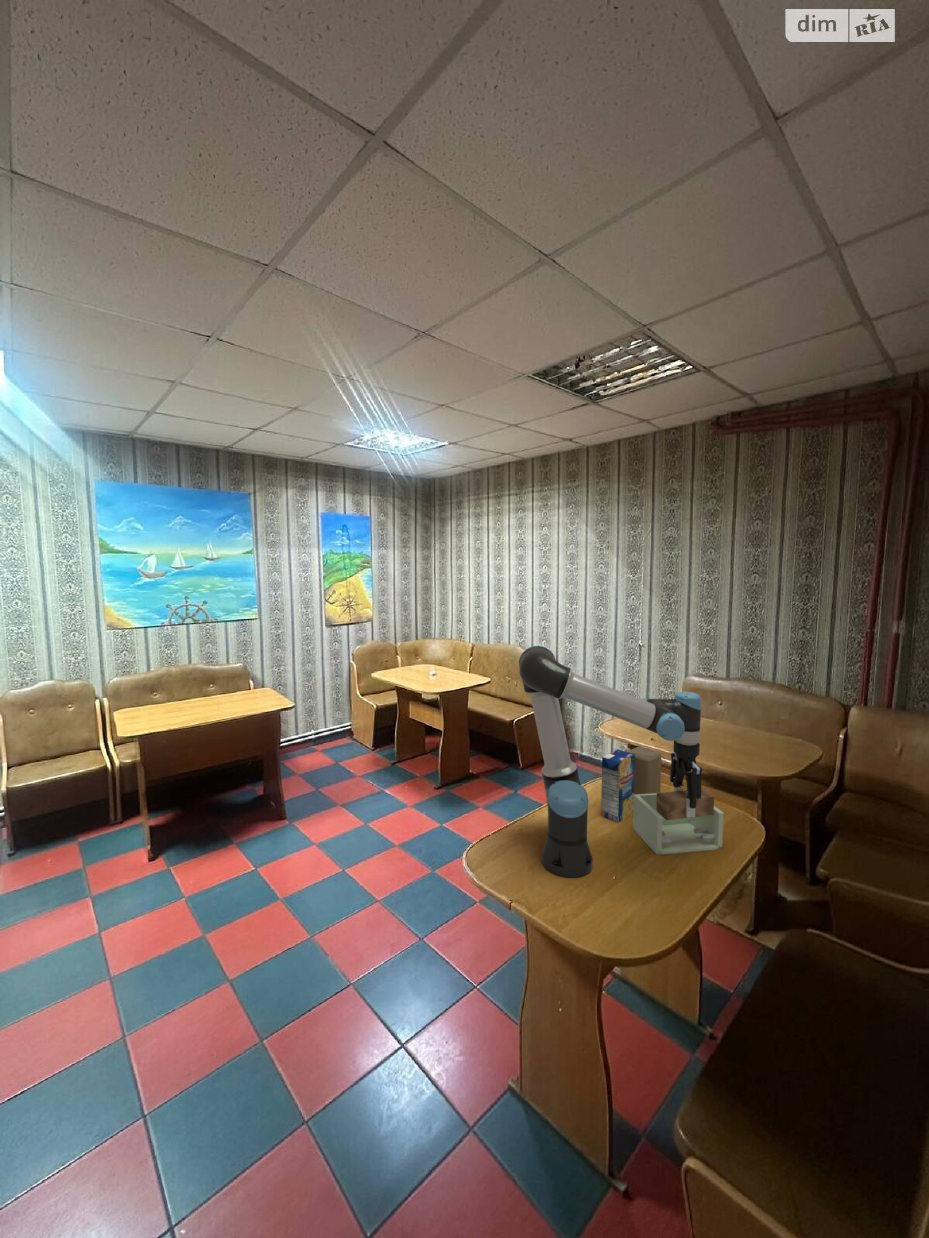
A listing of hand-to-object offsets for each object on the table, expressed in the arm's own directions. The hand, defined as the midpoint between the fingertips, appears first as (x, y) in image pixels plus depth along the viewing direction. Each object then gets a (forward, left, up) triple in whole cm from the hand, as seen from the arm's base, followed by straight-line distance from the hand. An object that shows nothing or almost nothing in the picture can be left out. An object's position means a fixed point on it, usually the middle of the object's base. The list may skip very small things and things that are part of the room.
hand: (684, 811), depth 158 cm
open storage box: (0, +4, -11) cm, 12 cm away
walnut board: (0, 0, 0) cm, 1 cm away
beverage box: (-12, +22, -11) cm, 28 cm away
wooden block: (+1, +29, -11) cm, 31 cm away
